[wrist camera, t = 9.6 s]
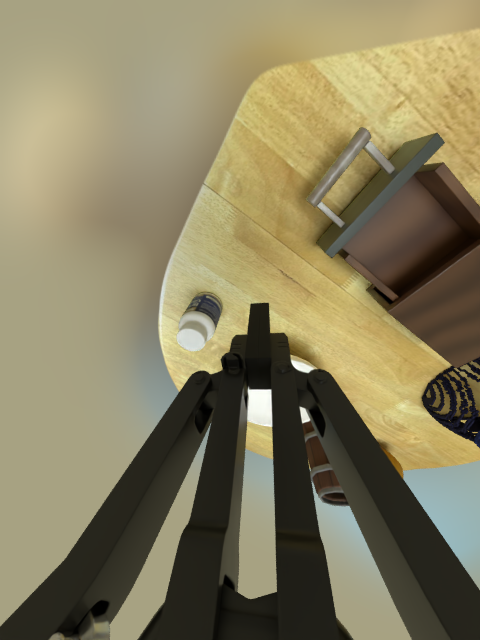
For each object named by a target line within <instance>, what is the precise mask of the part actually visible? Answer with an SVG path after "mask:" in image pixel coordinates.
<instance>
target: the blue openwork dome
mask: <svg viewBox="0 0 480 640" xmlns="http://www.w3.org/2000/svg"><path fill="white" fill-rule="evenodd" d="M472 361H473V362H476V363H477V364H479V365H480V357H478V358H476V359H474V360H472ZM470 362H471V361H470ZM466 364H467V365H468V366H469V367H471V370H472V371H473V372H474V373H477V374H478V375H480V369H479V368H476V367H475V366H474V365H471V364H470V363H469V362H468V363H466ZM466 364H464V365H466ZM462 366H463V365H462ZM460 367H461V366H460ZM460 367H458V368H457V369H458V370H459V371H460V372H461V371H462V372H465V373H466V374H467V377H470V378H472V379H473V380H476V381H477V382H480V379H479V380H478V379H477V378H478V377H477V376H476V375H473V374H472V373H469V372H468V371H466V370H465V369H461V368H460ZM454 368H455V367H454V366H451V368H448V369H446V370H444V372H443V373H439V375H437V376H436V378H435V379H433V380H431V382H430V383H428V386H427V388H426V390H425V392H424V394H423V396H422V401H423V405H424V407H425V408H426V410H427V411H428V412H429V414H430V415H431V416H432V417H433V418H435V420H436V421H438V422H439V423H440V424H442V425H443V426H444V427H446V428H448V429H449V430H450V431H453V432H454V433H455V434H458V435H459V436H462V437H463V438H465V439H469V440H470V441H473V442H474V443H475V444H477V446H478V447H479V448H480V417H478V415H479V414H478V412H479V411H478V410H476V408H475V407H476V406H475V400H474V398H473V395H472V394H473V393H472V390H471V388H468V387H467V386H470V385H469V384H468V383H467V379H466V378H465V377H462V376H461V375H460V374H459V373H460V372H457V371H456V370H455V369H454ZM450 371H453V372H455V373H456V374H457V375H458V376H459V377H460V380H461V381H464V382H465V385H464V387H465V388H466V389H467V390H465V392H466V393H467V395H468V396H467V397H468V400H471V401H472V403H471V404H472V406H470V407H469V409H470V410H469V411H470V412H472V413H471V414H472V416H471V417H463V416H464V415H465V414H467V413H468V408H465V407H467V406H468V402H467V399H464V398H465V397H464V396H466V395H465V392H462V391H461V390H464V388H463V387H462V384H461V382H460V381H459V380H457V379H456V378H455V377H452V376H451V375H450V374H449V373H448V372H450ZM444 374H447V375H448V376H449V377H450V380H451V381H454V382H455V383H456V384H455V385H456V386H457V389H456V391H457V392H460V397H461V399H462V400H463V401H461V406H460V407H459V410H461V411H460V413H461V415H460V416H459V417H458V418H457V417H453V416H454V415H455V413H456V412H457V410H456V409H457V407H456V405H457V404H458V403H457V401H456V399H457V397H456V395H455V394H456V393H455V391H454V389H453V387H452V386H451V385H452V384H451V383H450V381H449V379H448V378H447V377H444V376H443V375H444ZM438 379H439V380H442V381H443V382H441V384H442V385H443V387H444V388H445V389H444V390H445V391H448V392H446V394H449V397H450V399H451V400H450V402H451V403H450V408H449V409H450V410H452V411H449V413H448V414H446V415H440V414H439V413H438V414H437V413H436V412H435V411H441V410H442V408H443V406H444V404H445V403H444V401H445V400H444V398H445V397H444V395H443V394H444V393H443V391H442V388H441V385H440V384H439V383H438V382H437V381H436V380H438ZM434 383H435V384H436V386H437V388H438V389H439V392H440V398H441V399H440V401H441V402H440V404H439V406H438V408H436V407H432V406H430V405H433V403H434V401H435V400H436V394H435V393H436V392H435V391H434V388H433V386H432V384H434ZM428 390H429V391H430V395H431V397H430V398H428V397H427V395H426V394H427V392H428ZM462 408H464V409H462ZM433 410H434V411H433ZM449 420H450V421H451V422H450V421H449ZM460 420H467V421H466V422H465V423H463V422H461V421H460ZM468 431H469V432H468ZM472 432H478V433H472ZM474 435H475V436H474Z"/></svg>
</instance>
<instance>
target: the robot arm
mask: <svg viewBox="0 0 480 640" xmlns="http://www.w3.org/2000/svg"><path fill="white" fill-rule="evenodd" d="M221 363H222V367H223V370H222V371H220V372H217V373H214V374H209V373H208V372H206V371H198V372H195V373H194V374H192V375H191V376H190V378H189V379H188V380H187V382H186V383H185V385H184V386H183V388H182V389H181V391H180V392H179V394H178V395H177V397H176V398H175V399H174V401H173V402H172V404H171V405H170V407H169V408H168V410H167V411H166V413H165V414H164V416H163V417H162V419H161V420H160V421H159V423H158V425H157V426H156V427H155V429H154V430H153V432H152V433H151V434H150V436H149V438H148V439H147V440H146V442H145V443H144V445H143V446H142V448H141V449H140V451H139V452H138V454H137V455H136V457H135V458H134V459H133V461H132V462H131V464H130V465H129V467H128V468H127V470H126V471H125V473H124V474H123V475H122V477H121V479H120V480H119V481H118V483H117V484H116V486H115V487H114V489H113V490H112V492H111V493H110V494H109V496H108V497H107V499H106V500H105V502H104V503H103V505H102V506H101V508H100V509H99V510H98V512H97V513H96V515H95V516H94V518H93V519H92V521H91V522H90V524H89V525H88V527H87V528H86V529H85V531H84V532H83V534H82V535H81V537H80V538H79V540H78V541H77V543H76V544H75V546H74V547H73V548H72V550H71V551H70V553H69V554H68V556H67V558H66V559H65V560H64V561H63V562H62V563H61V564H60V565H59V566H58V567H57V568H56V569H55V570H54V571H53V572H52V573H51V574H50V576H49V577H48V578H47V579H46V580H45V581H44V582H43V583H42V584H41V585H40V586H39V587H38V588H37V589H36V590H35V591H34V592H33V593H32V594H31V595H30V596H29V597H28V598H27V599H26V600H25V601H24V603H23V604H22V605H21V606H20V607H19V608H18V609H17V610H16V611H15V612H14V613H13V614H12V615H11V616H10V617H9V618H8V619H7V620H6V621H5V622H4V623H3V624H2V626H0V640H110V626H109V625H110V623H111V622H112V620H113V619H114V617H115V616H116V615H117V613H118V611H119V610H120V608H121V606H122V604H123V603H124V601H125V600H126V598H127V596H128V595H129V593H130V591H131V589H132V587H133V586H134V584H135V581H136V580H137V578H138V576H139V574H140V572H141V570H142V568H143V565H144V564H145V561H146V559H147V557H148V555H149V553H150V551H151V549H152V547H153V544H154V542H155V540H156V538H157V536H158V533H159V532H160V529H161V527H162V525H163V523H164V521H165V519H166V517H167V515H168V513H169V510H170V508H171V506H172V504H173V502H174V500H175V498H176V496H177V493H178V491H179V489H180V487H181V485H182V483H183V481H184V479H185V477H186V474H187V472H188V470H189V468H190V466H191V463H192V462H193V459H194V457H195V455H196V453H197V451H198V449H199V447H200V445H201V443H202V440H203V438H204V436H205V434H206V432H207V430H208V428H209V426H210V423H211V427H210V431H209V436H208V440H207V445H206V449H205V454H204V459H203V463H202V467H201V472H200V476H199V481H198V485H197V490H196V494H195V499H194V504H193V508H192V513H191V517H190V520H189V523H188V525H187V526H186V527H185V529H184V530H183V533H182V535H181V538H180V541H179V545H178V549H177V553H176V557H175V561H174V566H173V570H172V574H171V578H170V582H169V586H168V591H167V595H166V600H165V602H164V603H163V605H162V606H161V607H160V608H159V609H158V611H157V612H156V614H155V615H154V616H153V618H152V619H151V621H150V622H149V624H148V625H147V627H146V628H145V630H144V631H143V633H142V634H141V636H140V637H139V638H138V640H353V638H352V637H351V635H350V634H349V632H348V631H347V630H346V628H345V627H344V626H343V625H342V624H341V622H340V621H339V620H338V619H337V618H336V614H335V608H334V602H333V596H332V590H331V584H330V578H329V572H328V566H327V560H326V555H325V550H324V546H323V543H322V540H321V537H320V532H319V527H318V520H317V514H316V508H315V501H314V495H313V488H312V482H311V476H310V470H309V463H308V457H307V450H306V444H305V438H304V431H303V425H302V419H301V412H300V407H302V408H305V409H306V412H307V414H308V416H309V418H310V420H311V423H312V425H313V427H314V429H315V431H316V434H317V436H318V438H319V440H320V442H321V444H322V447H323V449H324V451H325V453H326V455H327V458H328V460H329V462H330V464H331V466H332V469H333V471H334V473H335V475H336V477H337V479H338V482H339V484H340V486H341V488H342V490H343V493H344V495H345V497H346V499H347V501H348V503H349V506H350V508H351V510H352V512H353V514H354V517H355V519H356V521H357V523H358V525H359V527H360V530H361V532H362V534H363V536H364V538H365V541H366V543H367V545H368V547H369V549H370V552H371V554H372V556H373V558H374V560H375V562H376V565H377V567H378V569H379V571H380V573H381V576H382V578H383V580H384V582H385V584H386V586H387V588H388V591H389V593H390V595H391V597H392V599H393V602H394V604H395V606H396V608H397V610H398V612H399V614H400V616H401V618H402V620H403V622H404V624H405V626H406V628H407V630H408V633H409V634H410V637H411V638H412V640H480V590H479V589H478V587H477V586H476V584H475V583H474V581H473V580H472V578H471V577H470V575H469V574H468V573H467V571H466V570H465V568H464V567H463V565H462V564H461V562H460V561H459V559H458V558H457V557H456V555H455V554H454V552H453V551H452V549H451V548H450V547H449V545H448V544H447V542H446V541H445V539H444V538H443V536H442V535H441V534H440V532H439V530H438V529H437V528H436V526H435V525H434V523H433V522H432V520H431V519H430V517H429V516H428V514H427V513H426V512H425V510H424V509H423V507H422V506H421V504H420V503H419V502H418V500H417V499H416V497H415V496H414V494H413V493H412V491H411V490H410V488H409V487H408V485H407V484H406V483H405V481H404V480H403V478H402V477H401V475H400V474H399V472H398V471H397V469H396V468H395V467H394V465H393V464H392V462H391V461H390V459H389V458H388V456H387V455H386V454H385V452H384V451H383V449H382V448H381V446H380V445H379V443H378V442H377V440H376V439H375V438H374V436H373V435H372V433H371V432H370V430H369V429H368V427H367V426H366V424H365V423H364V422H363V420H362V419H361V417H360V416H359V414H358V413H357V411H356V410H355V409H354V407H353V406H352V404H351V403H350V401H349V400H348V398H347V397H346V395H345V394H344V393H343V391H342V390H341V388H340V387H339V385H338V384H337V382H336V381H335V379H334V378H333V377H332V375H331V374H330V373H329V372H327V371H325V370H322V369H314V370H311V371H310V372H309V373H306V372H302V371H299V370H297V369H296V368H295V367H294V366H293V365H292V362H291V356H290V350H289V343H288V337H287V336H286V335H285V334H284V333H270V319H269V303H254V304H251V306H250V315H249V324H248V332H247V335H235V337H234V338H233V339H232V343H231V348H230V352H229V353H226V354H225V355H224V356H222V358H221ZM248 386H249V390H271V401H272V433H273V465H274V494H275V495H274V497H275V529H276V530H275V531H276V572H277V592H275V593H272V594H268V595H265V596H261V597H258V598H255V599H248V598H246V597H244V596H243V595H241V594H239V593H238V592H237V589H238V575H239V531H240V530H239V529H240V517H241V502H242V488H243V487H242V486H243V474H244V459H245V445H246V431H247V416H248V402H249V395H248ZM211 421H212V422H211Z"/></svg>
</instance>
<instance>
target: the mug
mask: <svg viewBox="0 0 480 640" xmlns="http://www.w3.org/2000/svg"><path fill="white" fill-rule="evenodd" d="M302 425H303V431H304V438H305V444H306V450H307V456H308V460H309V464H310V468H311V471H310V476H311V481H312V482H313V483H314V485H315V489H316V493H317V494H318V496H319V498H320V499H321V501H322V502H324V503H327V504H330V505H334V506H349V503H348V501H347V499H346V497H345V495H344V493H343V490H342V488H341V486H340V484H339V482H338V479H337V477H336V475H335V473H334V471H333V469H332V466H331V464H330V462H329V460H328V458H327V455H326V453H325V451H324V449H323V447H322V444H321V442H320V440H319V438H318V436H317V434H316V431H315V429H314V427H313V425H312V423H311V420H310V421H308V422H305V423H302Z"/></svg>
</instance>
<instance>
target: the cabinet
mask: <svg viewBox="0 0 480 640" xmlns="http://www.w3.org/2000/svg"><path fill="white" fill-rule="evenodd" d="M366 291H367V292H368V293H369V294H370V295H371V296H372V297H373V298H374V299H375V300H376V301H377V302H378V303H379V304H380V305H381V306H382V307H383V308H384V309H385V310H386V311H387V312H388V313H389V314H390V315H392V316H393V317H394V318H395V319H396V320H398V321H399V322H400V323H401V324H403V325H404V326H405V327H406V328H407V329H409V330H410V331H411V332H412V333H414V334H415V335H416V336H417V337H418V338H420V339H421V340H422V341H423V342H425V343H426V344H427V345H428V346H429V347H431V348H432V349H433V350H434V351H436V352H437V353H438V354H439V355H440V356H442V357H443V358H444V359H445V360H446V361H448V362H449V363H450V364H451V365H453V366H454V367H455V368H458V367H460V366H462V365H464V364H466V363H468V362H470V361H472V360H474V359H476V358H478V357H480V239H478V240H477V241H476V242H474V243H473V244H472V245H470V246H469V247H468V248H466V249H465V250H464V251H462V252H461V253H459V254H458V255H457V256H455V257H454V258H453V259H451V260H450V261H449V262H447V263H446V264H445V265H443V266H442V267H441V268H439V269H438V270H437V271H435V272H434V273H433V274H431V275H430V276H429V277H427V278H426V279H424V280H423V281H422V282H420V283H419V284H418V285H416V286H415V287H414V288H412V289H411V290H410V291H408V292H407V293H406V294H404V295H403V296H402V297H400V298H399V299H398V300H396V301H395V302H393V301H392V300H391V299H390V298H389V297H387V296H386V295H385V294H384V293H383V292H381V291H380V290H379V289H378V288H377V287H376V286H374V285H372V286H370V287H369V288H368V289H367V290H366Z"/></svg>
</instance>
